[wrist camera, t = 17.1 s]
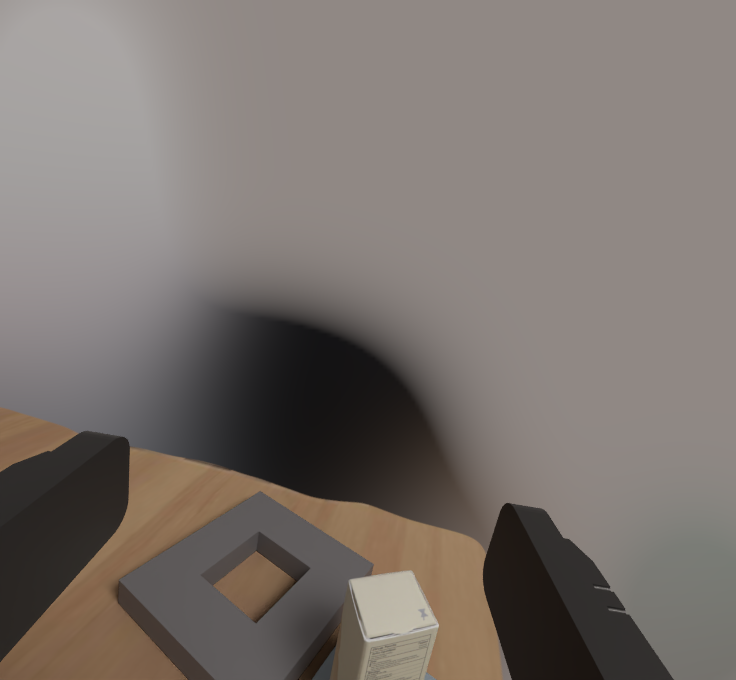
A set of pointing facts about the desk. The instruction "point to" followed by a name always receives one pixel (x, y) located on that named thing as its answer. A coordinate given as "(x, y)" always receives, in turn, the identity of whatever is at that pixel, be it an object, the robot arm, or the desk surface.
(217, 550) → the socket block
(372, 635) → the box
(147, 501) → the desk surface
